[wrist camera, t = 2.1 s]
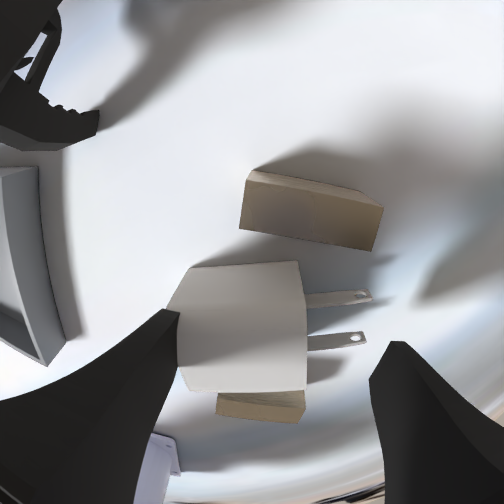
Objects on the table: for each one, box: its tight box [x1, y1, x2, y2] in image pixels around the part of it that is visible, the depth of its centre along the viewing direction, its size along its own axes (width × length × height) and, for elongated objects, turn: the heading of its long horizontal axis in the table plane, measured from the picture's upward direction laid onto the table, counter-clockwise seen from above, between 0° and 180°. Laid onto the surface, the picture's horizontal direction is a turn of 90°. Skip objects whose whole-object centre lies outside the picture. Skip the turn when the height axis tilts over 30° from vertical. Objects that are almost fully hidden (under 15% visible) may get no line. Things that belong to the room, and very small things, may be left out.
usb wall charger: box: [166, 260, 373, 393], centre depth 10 cm, size 4×7×4 cm, turn 96°
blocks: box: [215, 170, 384, 424], centre depth 11 cm, size 11×4×2 cm, turn 171°
